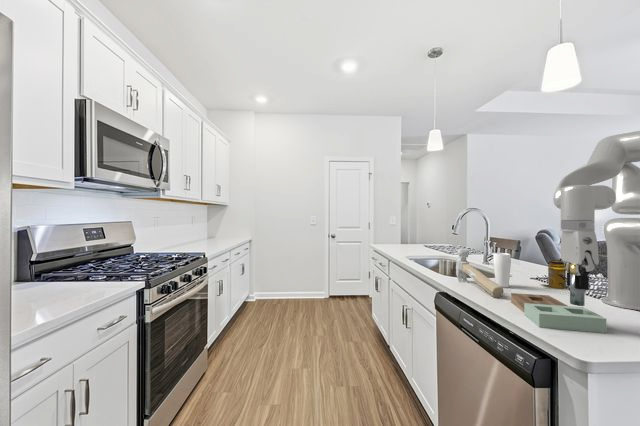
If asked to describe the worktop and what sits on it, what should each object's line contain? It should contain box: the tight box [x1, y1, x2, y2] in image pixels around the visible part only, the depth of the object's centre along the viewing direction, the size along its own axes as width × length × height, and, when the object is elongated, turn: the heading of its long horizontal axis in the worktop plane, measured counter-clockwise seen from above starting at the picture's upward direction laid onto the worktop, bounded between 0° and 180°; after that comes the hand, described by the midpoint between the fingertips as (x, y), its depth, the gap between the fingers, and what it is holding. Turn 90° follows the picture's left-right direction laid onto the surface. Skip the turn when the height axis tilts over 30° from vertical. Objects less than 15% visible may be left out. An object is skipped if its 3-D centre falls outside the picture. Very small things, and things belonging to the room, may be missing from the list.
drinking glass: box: [492, 252, 512, 289], centre depth 128 cm, size 7×7×15 cm
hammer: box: [455, 248, 504, 299], centre depth 125 cm, size 16×5×30 cm
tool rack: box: [523, 303, 607, 334], centre depth 85 cm, size 16×10×4 cm, turn 74°
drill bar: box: [569, 263, 586, 307], centre depth 84 cm, size 3×3×12 cm
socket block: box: [510, 292, 568, 313], centre depth 98 cm, size 12×12×4 cm
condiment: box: [540, 259, 570, 291], centre depth 126 cm, size 7×8×12 cm
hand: (577, 286), depth 84 cm, fingers closed on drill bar, 3 cm apart
